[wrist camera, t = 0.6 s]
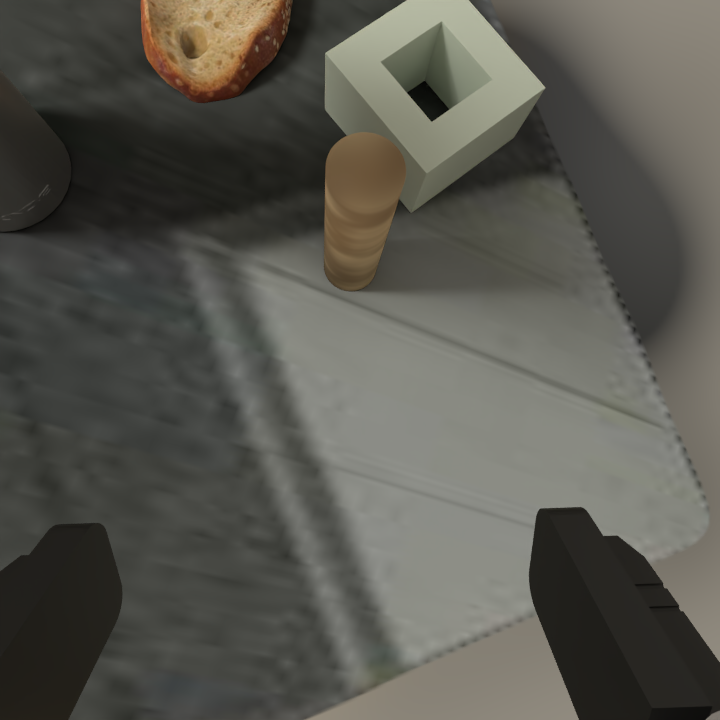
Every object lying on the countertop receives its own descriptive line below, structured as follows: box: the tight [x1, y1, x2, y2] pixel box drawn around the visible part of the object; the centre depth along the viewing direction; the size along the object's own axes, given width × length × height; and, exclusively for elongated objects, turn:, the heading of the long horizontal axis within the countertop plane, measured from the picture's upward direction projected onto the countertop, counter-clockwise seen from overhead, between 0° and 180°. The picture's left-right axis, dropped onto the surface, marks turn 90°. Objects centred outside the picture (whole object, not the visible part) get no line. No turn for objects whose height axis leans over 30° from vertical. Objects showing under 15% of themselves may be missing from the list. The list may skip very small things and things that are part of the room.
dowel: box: [324, 132, 406, 291], centre depth 32 cm, size 4×4×14 cm
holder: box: [325, 0, 545, 213], centre depth 38 cm, size 11×11×6 cm
